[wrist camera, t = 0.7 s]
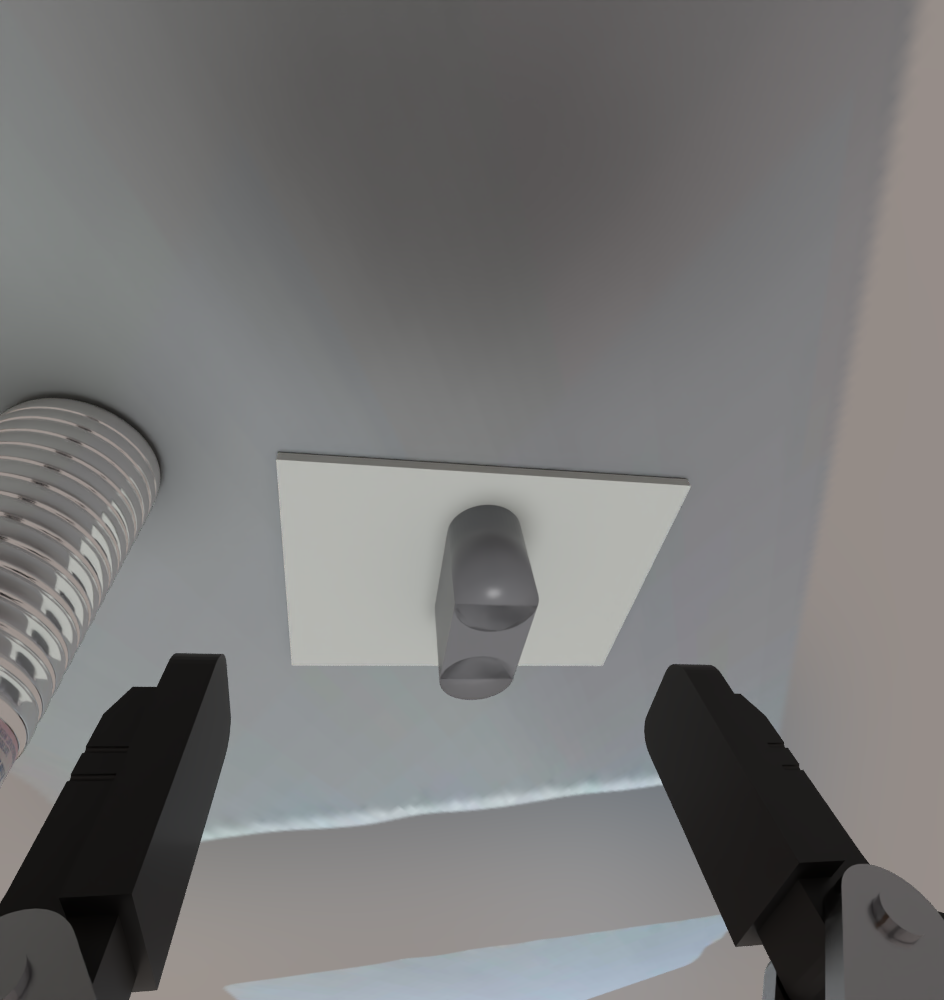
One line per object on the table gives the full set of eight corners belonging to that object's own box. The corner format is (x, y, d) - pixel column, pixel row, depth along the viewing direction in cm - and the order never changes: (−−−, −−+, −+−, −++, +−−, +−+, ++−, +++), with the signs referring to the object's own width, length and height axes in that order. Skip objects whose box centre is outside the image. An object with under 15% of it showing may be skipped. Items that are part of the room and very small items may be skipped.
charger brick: (452, 502, 29) (460, 574, 25) (527, 506, 29) (547, 576, 25) (428, 647, 36) (431, 719, 32) (488, 647, 37) (499, 718, 33)
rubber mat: (278, 452, 26) (276, 459, 26) (686, 478, 30) (691, 485, 30) (293, 657, 36) (291, 665, 36) (599, 658, 40) (602, 665, 39)
